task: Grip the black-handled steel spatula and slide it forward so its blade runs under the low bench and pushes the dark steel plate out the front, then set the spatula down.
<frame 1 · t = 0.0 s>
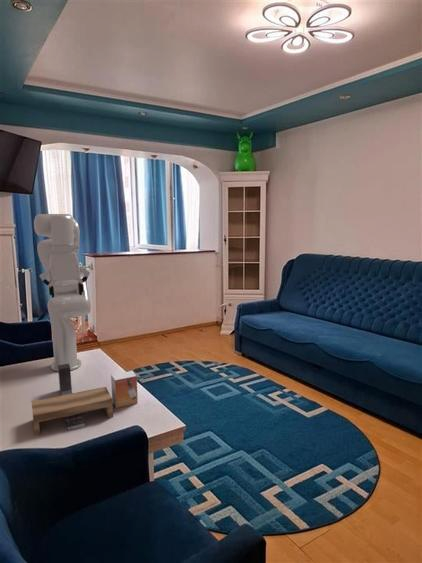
hand: (66, 295, 145), 37 cm above the table, tool pointing down, fingers open, 9 cm apart
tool: (65, 391, 150), on the table
small box: (125, 403, 141), on the table
token: (75, 426, 127), on the table
bench: (73, 418, 131), on the table
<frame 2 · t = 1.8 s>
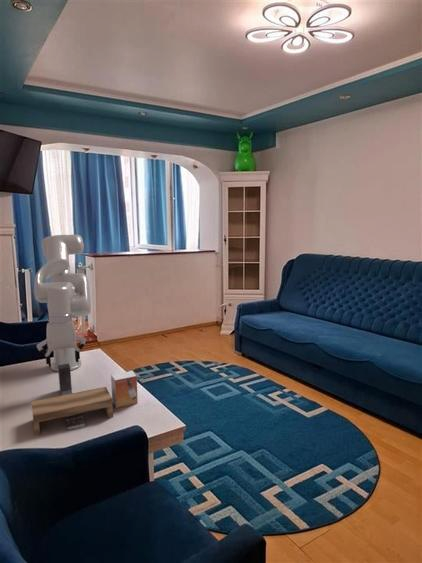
hand: (63, 363, 147), 11 cm above the table, tool pointing down, fingers open, 9 cm apart
nothing on the table moved.
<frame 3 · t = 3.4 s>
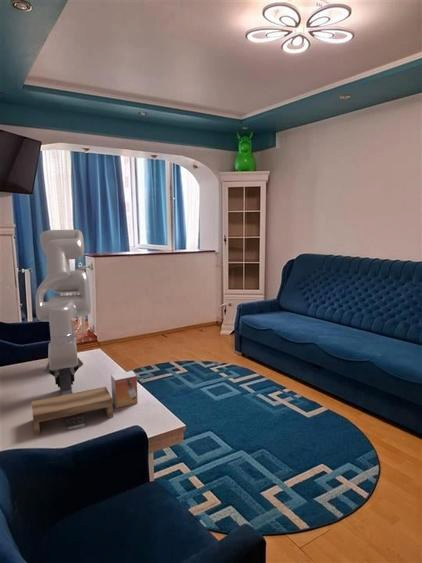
hand: (65, 384, 150), 3 cm above the table, tool pointing down, fingers closed on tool, 4 cm apart
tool: (65, 391, 150), on the table, touching gripper
everything else where it was.
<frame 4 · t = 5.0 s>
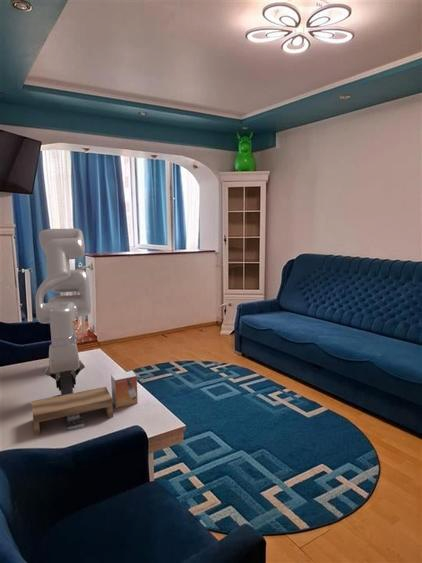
hand: (66, 387, 146), 3 cm above the table, tool pointing down, fingers closed on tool, 4 cm apart
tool: (66, 394, 146), on the table, touching gripper
everything else where it was.
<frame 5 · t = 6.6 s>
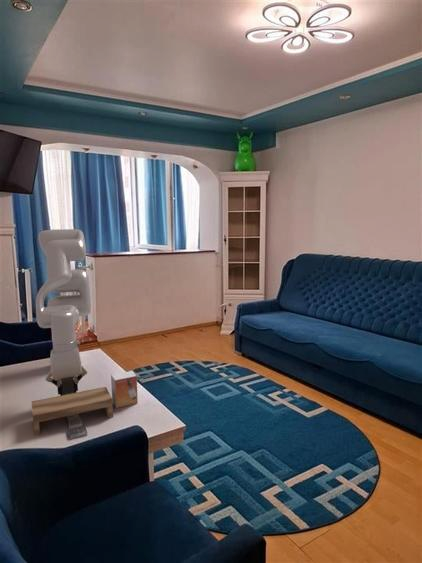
hand: (68, 393, 141), 3 cm above the table, tool pointing down, fingers closed on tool, 4 cm apart
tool: (68, 401, 142), on the table, touching gripper
token: (77, 434, 122), on the table
everything else where it was.
when the fingers open (3 cm above the table, at t = 8.4 s): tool stays where it is, on the table.
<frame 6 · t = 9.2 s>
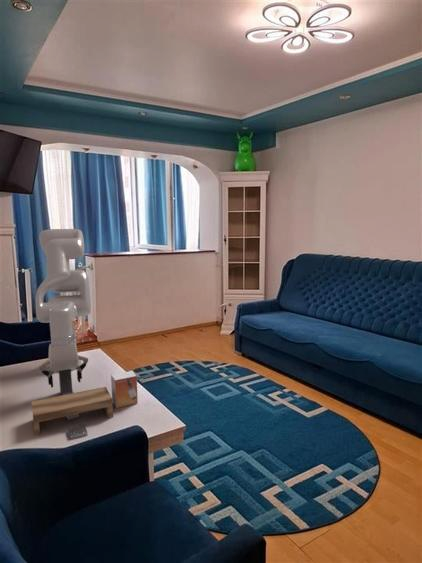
hand: (65, 383, 148), 4 cm above the table, tool pointing down, fingers open, 9 cm apart
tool: (66, 393, 148), on the table
everything else where it was.
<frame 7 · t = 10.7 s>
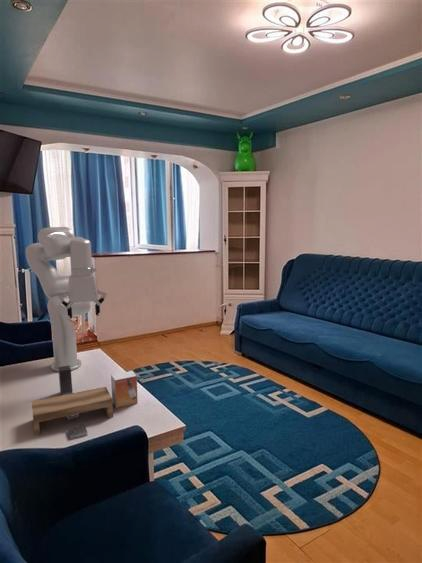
hand: (84, 316, 151), 28 cm above the table, tool pointing down, fingers open, 9 cm apart
nothing on the table moved.
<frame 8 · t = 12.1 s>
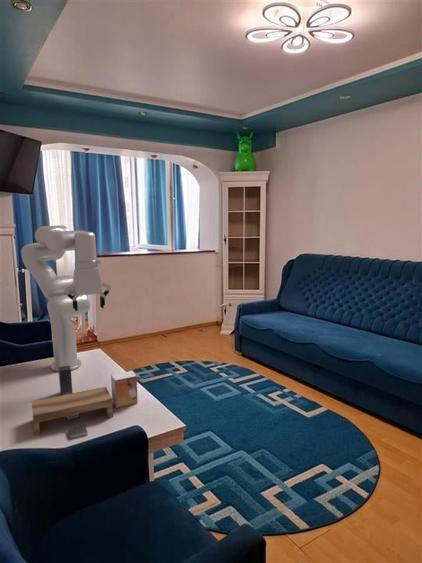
hand: (89, 308, 152), 30 cm above the table, tool pointing down, fingers open, 9 cm apart
nothing on the table moved.
at the end: token inside the target area (1.8 cm from its centre), on the table; token moved 5.2 cm from its start; the gripper is holding nothing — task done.
